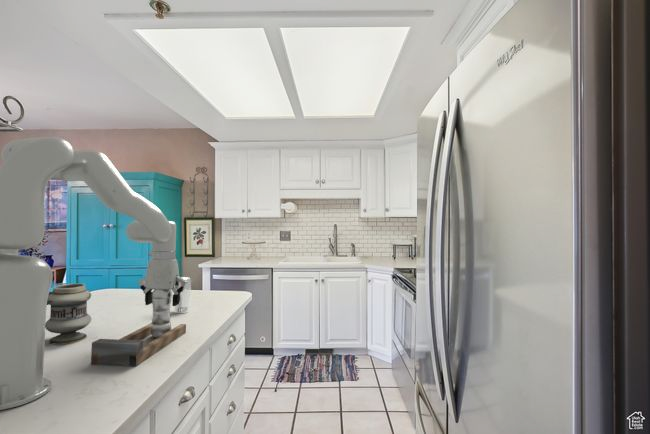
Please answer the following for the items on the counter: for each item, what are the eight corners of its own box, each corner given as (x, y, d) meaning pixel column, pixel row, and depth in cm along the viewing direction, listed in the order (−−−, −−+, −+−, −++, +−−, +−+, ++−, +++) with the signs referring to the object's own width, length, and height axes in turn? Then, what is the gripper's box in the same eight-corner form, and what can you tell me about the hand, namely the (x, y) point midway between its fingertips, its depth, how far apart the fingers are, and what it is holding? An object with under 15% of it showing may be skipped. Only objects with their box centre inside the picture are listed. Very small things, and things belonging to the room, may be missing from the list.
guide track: (135, 366, 88) (136, 344, 88) (90, 364, 88) (91, 342, 89) (185, 332, 116) (186, 315, 116) (151, 331, 116) (151, 314, 117)
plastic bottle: (162, 340, 107) (164, 281, 108) (145, 338, 109) (147, 280, 109) (175, 334, 114) (177, 278, 114) (158, 332, 115) (160, 277, 115)
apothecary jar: (33, 344, 102) (36, 287, 102) (68, 332, 113) (71, 281, 114) (67, 347, 100) (69, 289, 100) (99, 334, 112) (101, 283, 112)
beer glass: (173, 310, 144) (174, 277, 145) (189, 309, 147) (190, 276, 148) (173, 314, 138) (174, 279, 138) (190, 313, 141) (191, 279, 141)
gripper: (132, 256, 109) (131, 306, 108) (182, 257, 108) (180, 308, 107) (146, 254, 116) (145, 301, 116) (192, 255, 115) (191, 302, 115)
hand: (162, 304), depth 112 cm, fingers open, 9 cm apart
